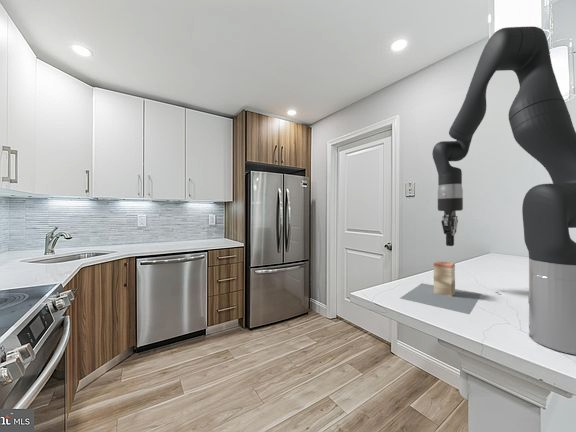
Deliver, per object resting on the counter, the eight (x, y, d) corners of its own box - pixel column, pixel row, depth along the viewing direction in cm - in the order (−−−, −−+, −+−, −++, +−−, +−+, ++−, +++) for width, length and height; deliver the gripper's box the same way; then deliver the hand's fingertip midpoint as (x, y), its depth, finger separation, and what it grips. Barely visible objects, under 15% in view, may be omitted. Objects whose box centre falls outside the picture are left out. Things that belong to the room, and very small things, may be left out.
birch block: (455, 292, 82) (454, 263, 82) (451, 296, 78) (451, 265, 78) (438, 289, 85) (437, 261, 85) (433, 293, 82) (433, 263, 82)
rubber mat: (481, 294, 80) (481, 293, 80) (469, 315, 65) (469, 314, 65) (421, 284, 93) (421, 283, 93) (399, 299, 78) (399, 298, 78)
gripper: (458, 196, 80) (458, 249, 80) (466, 197, 89) (466, 244, 90) (432, 197, 85) (433, 247, 86) (442, 198, 95) (442, 242, 95)
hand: (450, 245), depth 88 cm, fingers closed
